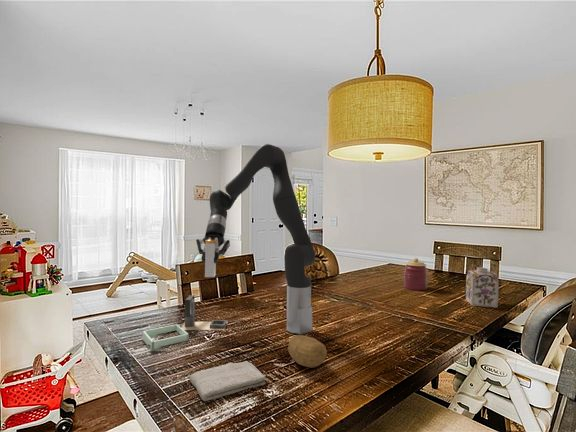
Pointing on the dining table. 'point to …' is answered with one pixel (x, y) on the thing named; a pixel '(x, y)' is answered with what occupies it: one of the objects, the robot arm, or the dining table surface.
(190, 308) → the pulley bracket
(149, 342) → the tray
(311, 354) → the potato
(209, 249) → the pin
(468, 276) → the decorative jar
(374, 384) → the dining table surface
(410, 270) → the canister
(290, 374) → the dining table surface
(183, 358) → the dining table surface
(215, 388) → the washcloth
